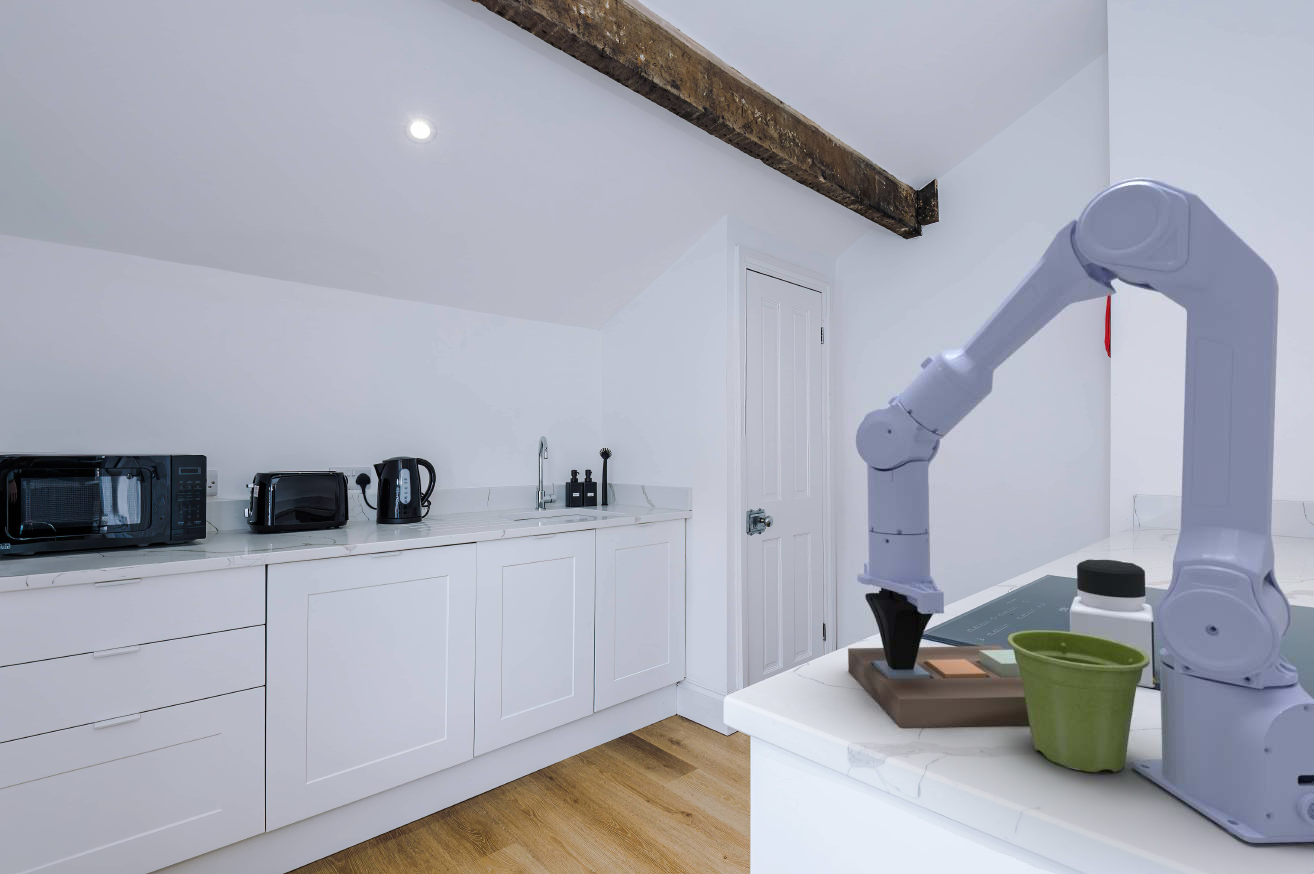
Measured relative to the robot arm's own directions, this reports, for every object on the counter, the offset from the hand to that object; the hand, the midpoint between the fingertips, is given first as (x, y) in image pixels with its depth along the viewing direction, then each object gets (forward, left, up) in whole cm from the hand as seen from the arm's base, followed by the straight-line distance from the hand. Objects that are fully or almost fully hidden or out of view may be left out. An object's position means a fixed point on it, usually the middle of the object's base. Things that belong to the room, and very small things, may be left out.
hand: (900, 667), depth 62 cm
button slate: (0, 0, -2) cm, 2 cm away
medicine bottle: (+5, -26, -3) cm, 26 cm away
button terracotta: (0, -6, -2) cm, 6 cm away
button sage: (0, -11, -1) cm, 11 cm away
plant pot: (-12, -9, -3) cm, 16 cm away
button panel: (0, -6, -3) cm, 6 cm away
